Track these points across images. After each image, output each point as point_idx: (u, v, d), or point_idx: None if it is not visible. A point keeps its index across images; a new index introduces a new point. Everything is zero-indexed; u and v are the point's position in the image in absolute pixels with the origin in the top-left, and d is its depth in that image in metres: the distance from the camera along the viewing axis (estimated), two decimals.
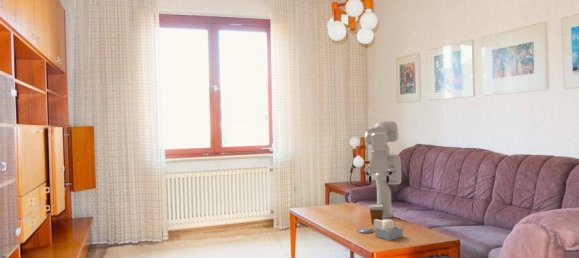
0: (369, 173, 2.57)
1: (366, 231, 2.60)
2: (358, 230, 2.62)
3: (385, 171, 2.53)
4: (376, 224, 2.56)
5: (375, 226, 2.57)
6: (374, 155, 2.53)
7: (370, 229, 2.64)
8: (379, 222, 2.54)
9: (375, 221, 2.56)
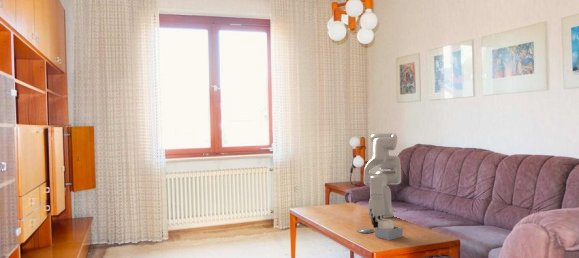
0: None
1: (366, 231, 2.60)
2: (358, 230, 2.62)
3: (384, 213, 2.57)
4: None
5: None
6: (377, 198, 2.53)
7: (370, 229, 2.64)
8: (379, 222, 2.54)
9: None
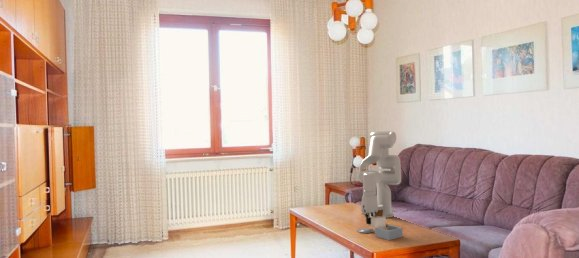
0: None
1: (366, 231, 2.60)
2: (358, 230, 2.62)
3: (376, 209, 2.62)
4: None
5: None
6: (370, 195, 2.58)
7: (370, 229, 2.64)
8: (372, 219, 2.59)
9: None
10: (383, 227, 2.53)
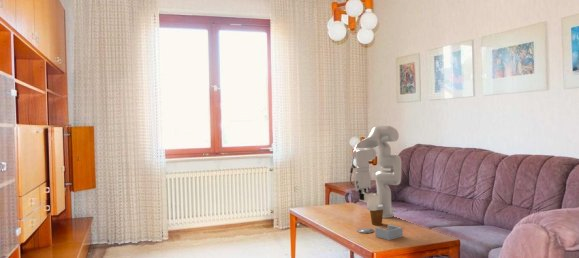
0: None
1: (366, 231, 2.60)
2: (358, 230, 2.62)
3: (369, 185, 2.65)
4: None
5: None
6: (363, 171, 2.61)
7: (370, 229, 2.64)
8: (365, 195, 2.62)
9: None
10: (376, 203, 2.56)
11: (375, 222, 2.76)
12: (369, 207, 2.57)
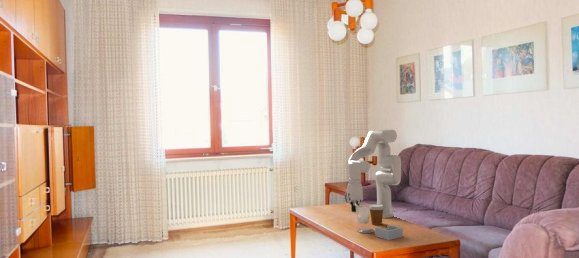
0: None
1: (366, 231, 2.60)
2: (358, 230, 2.62)
3: (361, 197, 2.69)
4: None
5: None
6: (355, 183, 2.65)
7: (370, 229, 2.64)
8: (356, 207, 2.66)
9: None
10: (366, 216, 2.60)
11: (375, 222, 2.76)
12: (360, 220, 2.61)
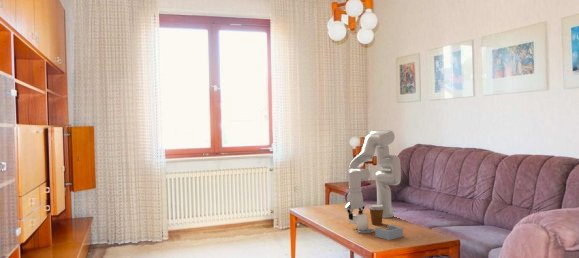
0: None
1: (366, 231, 2.60)
2: (358, 230, 2.62)
3: (362, 206, 2.69)
4: None
5: (351, 221, 2.70)
6: (355, 192, 2.65)
7: (370, 229, 2.64)
8: (354, 216, 2.68)
9: None
10: (365, 223, 2.61)
11: (375, 222, 2.76)
12: (359, 228, 2.62)
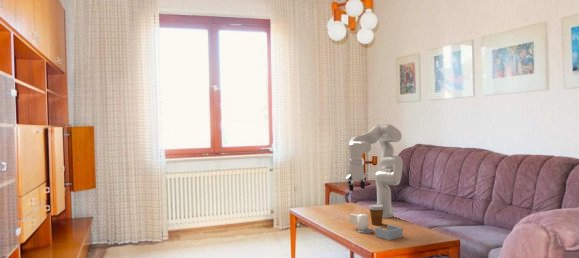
0: None
1: (366, 231, 2.60)
2: (358, 230, 2.62)
3: (363, 178, 2.72)
4: (352, 218, 2.70)
5: (351, 220, 2.70)
6: (356, 164, 2.68)
7: (370, 229, 2.64)
8: (355, 216, 2.67)
9: (351, 215, 2.70)
10: (365, 224, 2.61)
11: (375, 222, 2.76)
12: (359, 228, 2.62)
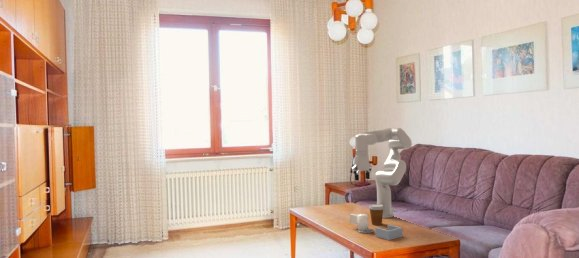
0: None
1: (366, 231, 2.60)
2: (358, 230, 2.62)
3: (368, 168, 2.83)
4: (352, 218, 2.70)
5: (351, 220, 2.70)
6: (361, 154, 2.79)
7: (370, 229, 2.64)
8: (355, 216, 2.67)
9: (351, 215, 2.70)
10: (365, 224, 2.61)
11: (375, 222, 2.76)
12: (359, 228, 2.62)
